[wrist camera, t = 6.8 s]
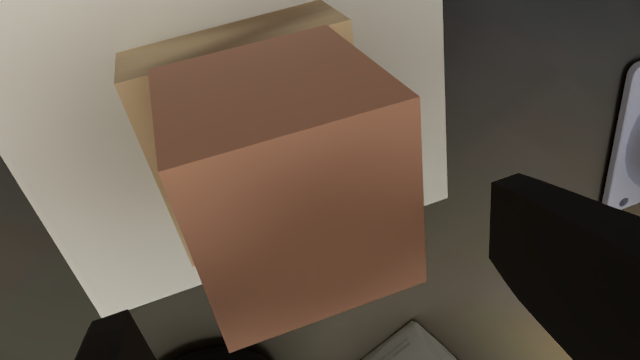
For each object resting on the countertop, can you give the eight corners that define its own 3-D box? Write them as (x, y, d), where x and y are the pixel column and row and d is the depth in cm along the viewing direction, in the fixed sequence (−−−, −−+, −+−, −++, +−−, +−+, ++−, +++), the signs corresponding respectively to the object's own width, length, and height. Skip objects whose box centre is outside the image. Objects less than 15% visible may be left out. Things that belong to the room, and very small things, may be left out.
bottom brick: (320, -1, 15) (350, 19, 13) (347, 167, 18) (374, 204, 16) (115, 53, 14) (113, 83, 12) (184, 220, 17) (192, 266, 15)
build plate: (421, -146, 15) (438, -147, 14) (435, 185, 21) (447, 198, 21) (-97, -33, 12) (-113, -27, 11) (103, 300, 19) (102, 319, 18)
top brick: (326, 24, 13) (420, 97, 9) (346, 171, 15) (426, 281, 11) (147, 68, 12) (158, 172, 8) (200, 217, 14) (228, 353, 10)
